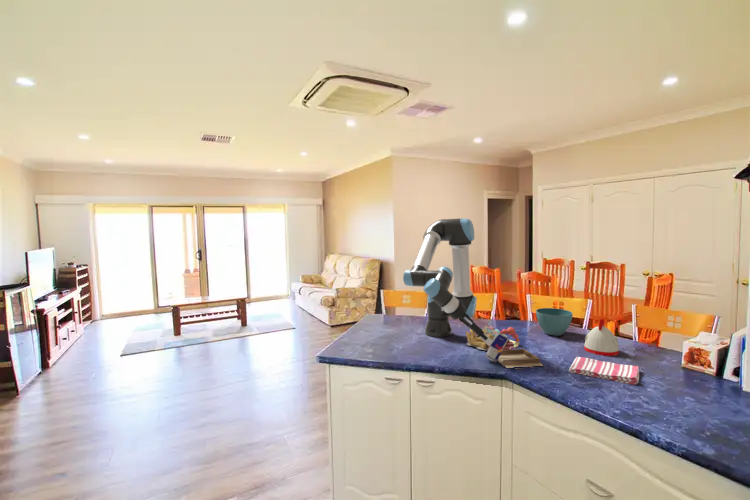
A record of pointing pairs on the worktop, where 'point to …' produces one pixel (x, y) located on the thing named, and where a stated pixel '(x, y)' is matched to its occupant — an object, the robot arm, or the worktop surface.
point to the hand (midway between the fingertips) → (490, 343)
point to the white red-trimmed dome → (601, 341)
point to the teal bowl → (554, 320)
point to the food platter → (491, 333)
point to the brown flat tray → (518, 358)
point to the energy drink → (496, 347)
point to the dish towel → (605, 370)
